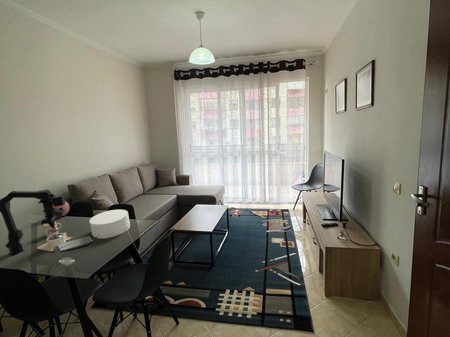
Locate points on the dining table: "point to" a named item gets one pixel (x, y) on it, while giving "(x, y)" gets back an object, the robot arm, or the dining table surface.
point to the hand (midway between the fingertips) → (53, 227)
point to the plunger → (54, 234)
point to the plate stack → (109, 223)
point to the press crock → (54, 242)
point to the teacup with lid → (47, 229)
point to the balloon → (65, 208)
